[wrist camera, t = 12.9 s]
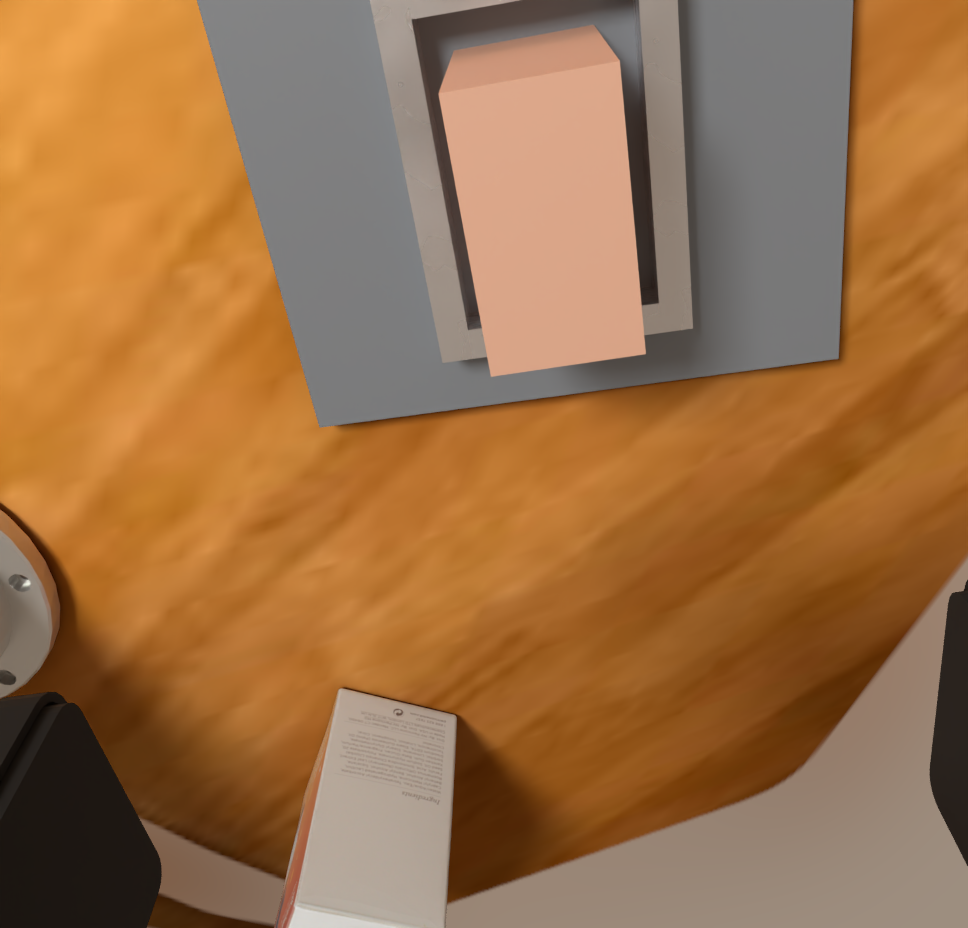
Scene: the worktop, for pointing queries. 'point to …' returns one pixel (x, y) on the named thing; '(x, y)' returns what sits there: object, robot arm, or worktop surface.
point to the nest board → (435, 208)
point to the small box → (375, 820)
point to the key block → (545, 198)
